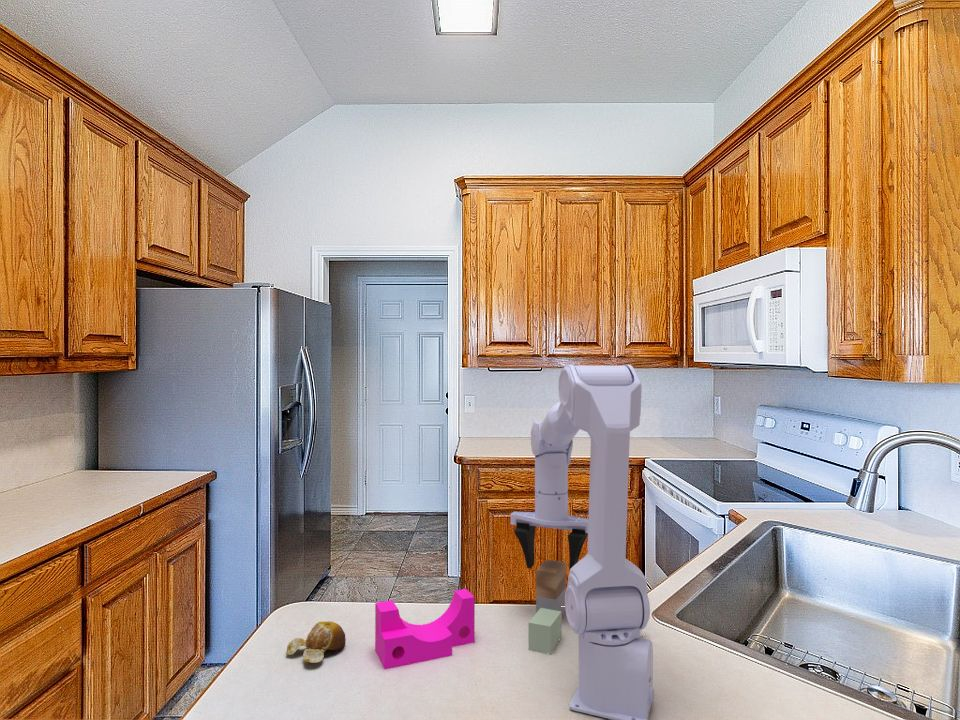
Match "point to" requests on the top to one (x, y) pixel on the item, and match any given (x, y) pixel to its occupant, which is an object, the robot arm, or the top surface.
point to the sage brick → (544, 630)
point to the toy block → (423, 632)
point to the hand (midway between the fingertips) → (551, 569)
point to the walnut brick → (551, 579)
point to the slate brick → (552, 603)
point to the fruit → (319, 641)
